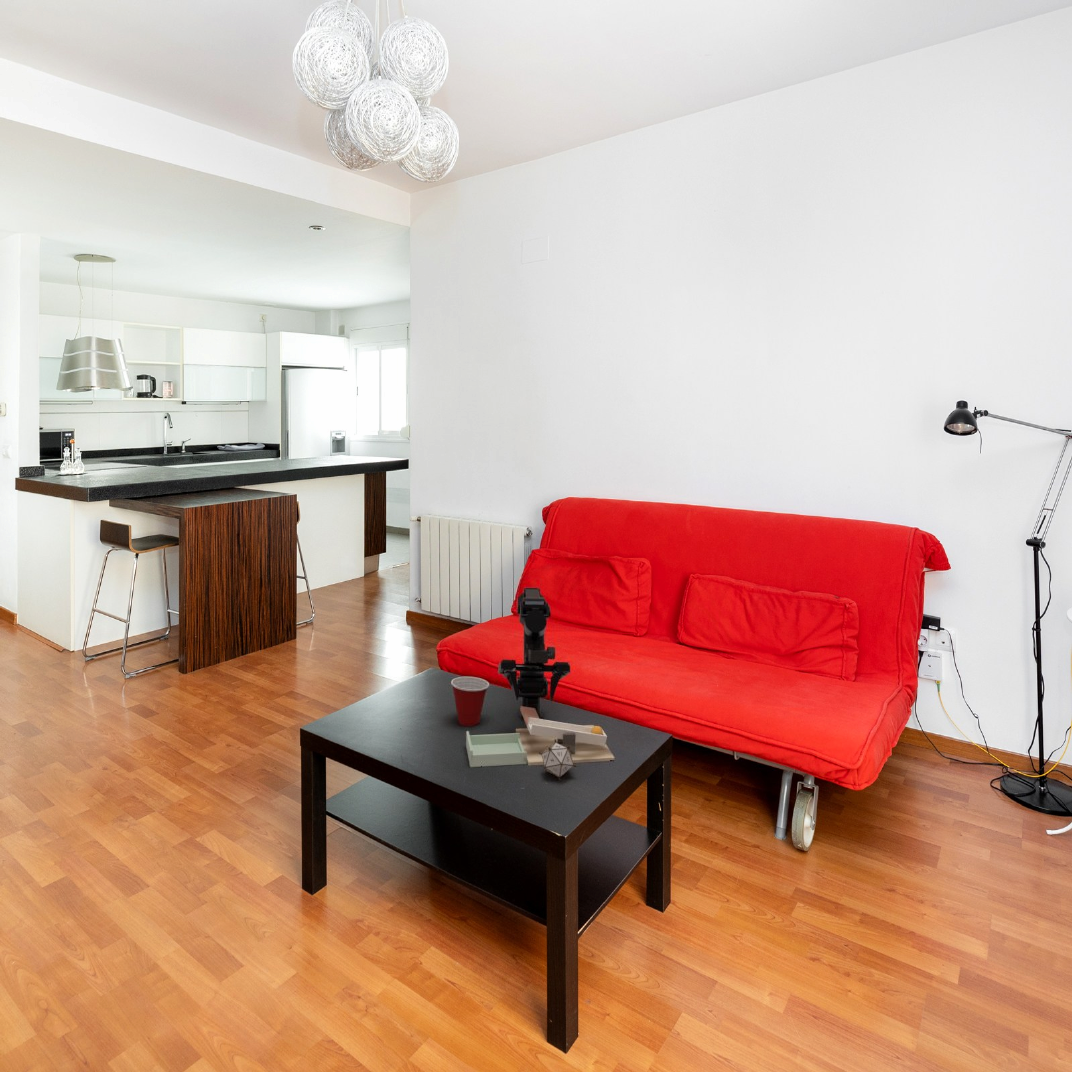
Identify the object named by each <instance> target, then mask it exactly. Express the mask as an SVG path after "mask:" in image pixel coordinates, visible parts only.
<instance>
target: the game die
mask: <svg viewBox="0 0 1072 1072" xmlns="http://www.w3.org/2000/svg"><path fill="white" fill-rule="evenodd" d="M554 741H555V743H554V744H553V745H551V746H550V747H549V748H548V749H547V750H545V751H544V752H543V753H540V752H539V754H540V755H542V759H543V763H544V765H543V767H542V768H541V769H542V770H545V772H544V773H545V774H548V773H549V774H552V775H554V776H555V777H557V778H558V781H559V782H561V780H562V779H561V777H562V776H563V775H565V774H566V773H567V772H568V771H570V770H571V769H572V768H578V766H577V764H575V763H573V760H572V757H571V752H572V750H571V751H569V748H570V746H568V748H567V747H565V746H563V745H561V744H558V743H556V739H555V740H554Z"/></svg>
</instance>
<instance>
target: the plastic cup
mask: <svg viewBox="0 0 1072 1072" xmlns="http://www.w3.org/2000/svg"><path fill="white" fill-rule="evenodd" d="M450 684H451V686H452V690H453V695H454V702H455V708H456V709H455V710H456V714H457V719H458V720H457V721H458V723H459V725H461V726H463V727H473V726H476V725H478V724H480V720H481V715H482V711H483V706H484V702H485V696H486V693H487V690H488V688H489V687H490V683H489V682H488V680H485V679H483V678H480V677H475V676H459V677H455V678H453V679H452V680H451V683H450Z"/></svg>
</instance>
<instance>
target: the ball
mask: <svg viewBox="0 0 1072 1072" xmlns="http://www.w3.org/2000/svg"><path fill="white" fill-rule="evenodd" d="M603 731H604V730H603V728H602V727H601V726H599V725H594V727H593V728H592V730H591V733H593V734H599V735H602V734H603Z"/></svg>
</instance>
